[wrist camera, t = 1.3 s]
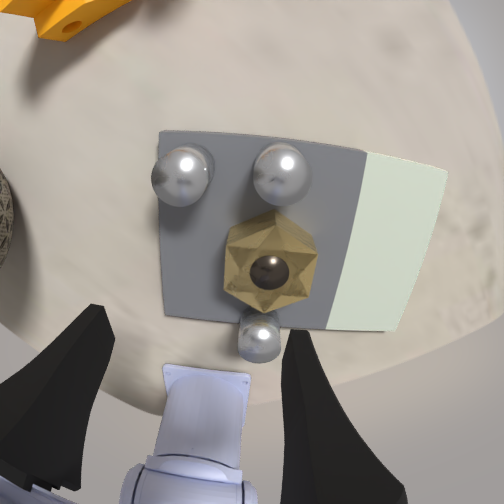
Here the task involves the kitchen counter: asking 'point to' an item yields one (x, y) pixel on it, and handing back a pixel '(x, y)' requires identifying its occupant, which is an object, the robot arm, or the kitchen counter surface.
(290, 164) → the cylinder
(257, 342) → the cylinder
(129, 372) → the kitchen counter surface
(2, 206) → the decorative egg
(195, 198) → the cylinder
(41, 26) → the pipe clamp
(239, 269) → the brass nut
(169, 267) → the board
